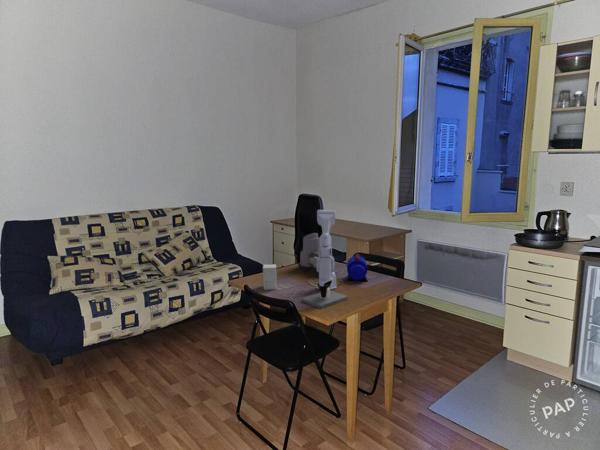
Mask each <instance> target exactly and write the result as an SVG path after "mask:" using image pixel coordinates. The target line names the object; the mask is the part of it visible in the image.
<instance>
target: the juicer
mask: <svg viewBox="0 0 600 450" xmlns="http://www.w3.org/2000/svg"><path fill="white" fill-rule="evenodd" d="M302 244H303V245H302V250H301V251H300V258H299V259H300V261H299V263H298V264H297V267H296V269H298V270H299V271H301V272H307V273H310V274H312V275H315V276H317V277H319V272H317V259H318V257H319V249H320V237H319V233H317V232H313V233H310V234H307V235H305V236H304V237H303V238H302ZM330 256H331V254H330ZM332 257H333V258H334V259H335V257H334V254H333V253H332ZM332 263H333V262H332ZM334 273H335V274H336V276H337V274H338V273H336V272H335V271H334Z"/></svg>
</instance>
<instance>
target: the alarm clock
mask: <svg viewBox="0 0 600 450" xmlns="http://www.w3.org/2000/svg"><path fill="white" fill-rule="evenodd" d="M367 263H368V262H367V261H366V259H365V258H364V257H363V256H361V255H360V254H359V253H355V255H354V256H352V257H350V258H349V259H348V261H347V262H346V271H347V275H346V281H347V282H348V281H351V280H354V281H360V280H363V281H365V282H366V283H367V282H368V281H369V280H368V276H367V273H368V264H367Z"/></svg>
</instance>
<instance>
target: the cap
mask: <svg viewBox="0 0 600 450" xmlns="http://www.w3.org/2000/svg"><path fill="white" fill-rule="evenodd" d="M319 293H320V292H319ZM329 297H330V290H329V287H328V288H327V293H326V297H325V298H323V297H321V293H320V298H322V299H328V298H329Z"/></svg>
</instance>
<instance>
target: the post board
mask: <svg viewBox="0 0 600 450" xmlns="http://www.w3.org/2000/svg"><path fill="white" fill-rule="evenodd" d="M300 299H301V301H300V302H302V303H305V304H308V305H310V306H313V307H315V308H318V309H324V308H326V307H329V306H333V305H336V304H338V303H341V302H344V301H347V300H348V299H349V295H345V294H342V293H339V292H337V291H334V290H332V289H331V290H330V297H329V298H328V299H322V298H320V292H317V293H314V294H311V295H307V296H305V297H301V298H300Z"/></svg>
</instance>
